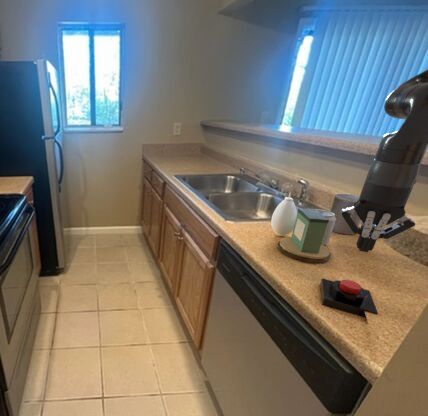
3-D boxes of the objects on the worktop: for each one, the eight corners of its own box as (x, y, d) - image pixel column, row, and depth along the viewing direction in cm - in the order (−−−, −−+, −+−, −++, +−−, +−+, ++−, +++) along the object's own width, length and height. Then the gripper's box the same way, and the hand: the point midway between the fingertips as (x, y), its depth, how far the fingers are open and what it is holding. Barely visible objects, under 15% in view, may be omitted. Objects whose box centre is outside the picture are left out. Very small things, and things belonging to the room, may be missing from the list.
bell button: (357, 288, 71) (360, 282, 70) (360, 296, 68) (362, 291, 67) (338, 283, 73) (340, 277, 72) (339, 291, 70) (341, 285, 69)
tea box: (317, 240, 99) (326, 207, 94) (338, 261, 86) (350, 224, 82) (274, 237, 102) (281, 205, 98) (287, 256, 90) (297, 220, 85)
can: (313, 236, 105) (321, 207, 101) (333, 245, 99) (343, 214, 94) (297, 239, 104) (305, 209, 99) (317, 248, 97) (326, 217, 93)
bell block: (366, 297, 73) (371, 284, 71) (374, 320, 65) (380, 307, 64) (319, 284, 78) (323, 272, 77) (322, 305, 70) (326, 292, 69)
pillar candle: (321, 223, 116) (330, 190, 110) (348, 225, 113) (359, 191, 108) (332, 233, 107) (344, 197, 102) (362, 236, 105) (375, 199, 99)
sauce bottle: (284, 230, 110) (294, 188, 104) (296, 239, 103) (308, 194, 97) (264, 230, 111) (273, 188, 104) (275, 239, 103) (286, 194, 97)
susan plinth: (327, 248, 97) (328, 244, 96) (331, 269, 85) (333, 264, 84) (278, 238, 104) (279, 234, 104) (275, 255, 93) (276, 251, 92)
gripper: (426, 181, 59) (396, 251, 66) (347, 174, 66) (327, 237, 73) (440, 190, 54) (405, 266, 60) (352, 181, 61) (329, 249, 67)
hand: (362, 250), depth 66 cm, fingers closed
